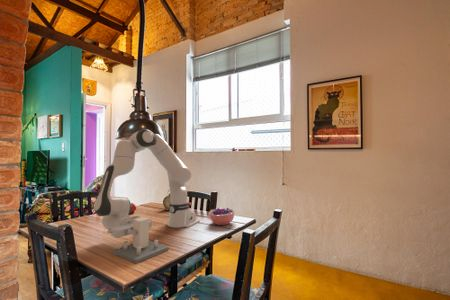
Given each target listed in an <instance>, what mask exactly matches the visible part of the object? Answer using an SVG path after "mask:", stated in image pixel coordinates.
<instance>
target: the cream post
mask: <svg viewBox="0 0 450 300" xmlns="http://www.w3.org/2000/svg"><path fill="white" fill-rule="evenodd" d="M140 217H141V218H137V219H133V230H137V231H138V234H136V235H134V234H132V244H133V247H135V248H137V246H141V248H144V247H147V246H149V241H150V240H149V238H150V237H149V235H150V234H149V233H150V232H149V231H150V228H149V220H150V219H149V218H147V217H143V216H140Z"/></svg>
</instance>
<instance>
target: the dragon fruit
mask: <svg viewBox="0 0 450 300" xmlns="http://www.w3.org/2000/svg"><path fill="white" fill-rule="evenodd" d="M130 203H131V211H130V214H134V213H135V211H136V210H137V206H136V204H134V203H132V202H130Z"/></svg>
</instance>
